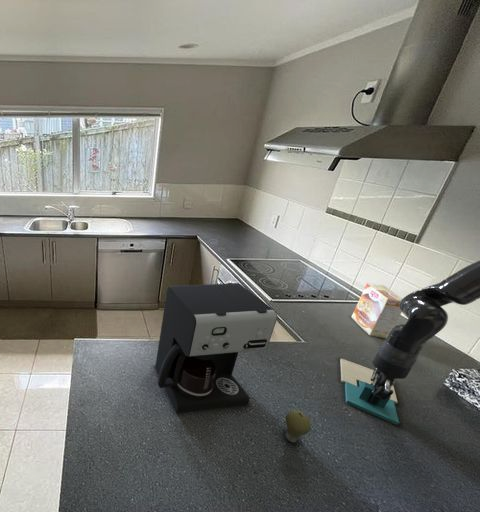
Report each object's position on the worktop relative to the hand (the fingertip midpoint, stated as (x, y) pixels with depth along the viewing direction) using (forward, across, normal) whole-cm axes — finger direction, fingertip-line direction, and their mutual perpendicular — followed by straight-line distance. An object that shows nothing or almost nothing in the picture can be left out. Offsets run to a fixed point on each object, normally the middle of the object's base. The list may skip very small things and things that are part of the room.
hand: (371, 399), depth 90 cm
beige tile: (+2, +12, 0) cm, 12 cm away
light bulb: (+2, -31, +19) cm, 36 cm away
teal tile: (+2, +2, 0) cm, 3 cm away
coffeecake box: (+2, +56, -4) cm, 56 cm away
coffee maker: (+2, -31, +47) cm, 56 cm away
